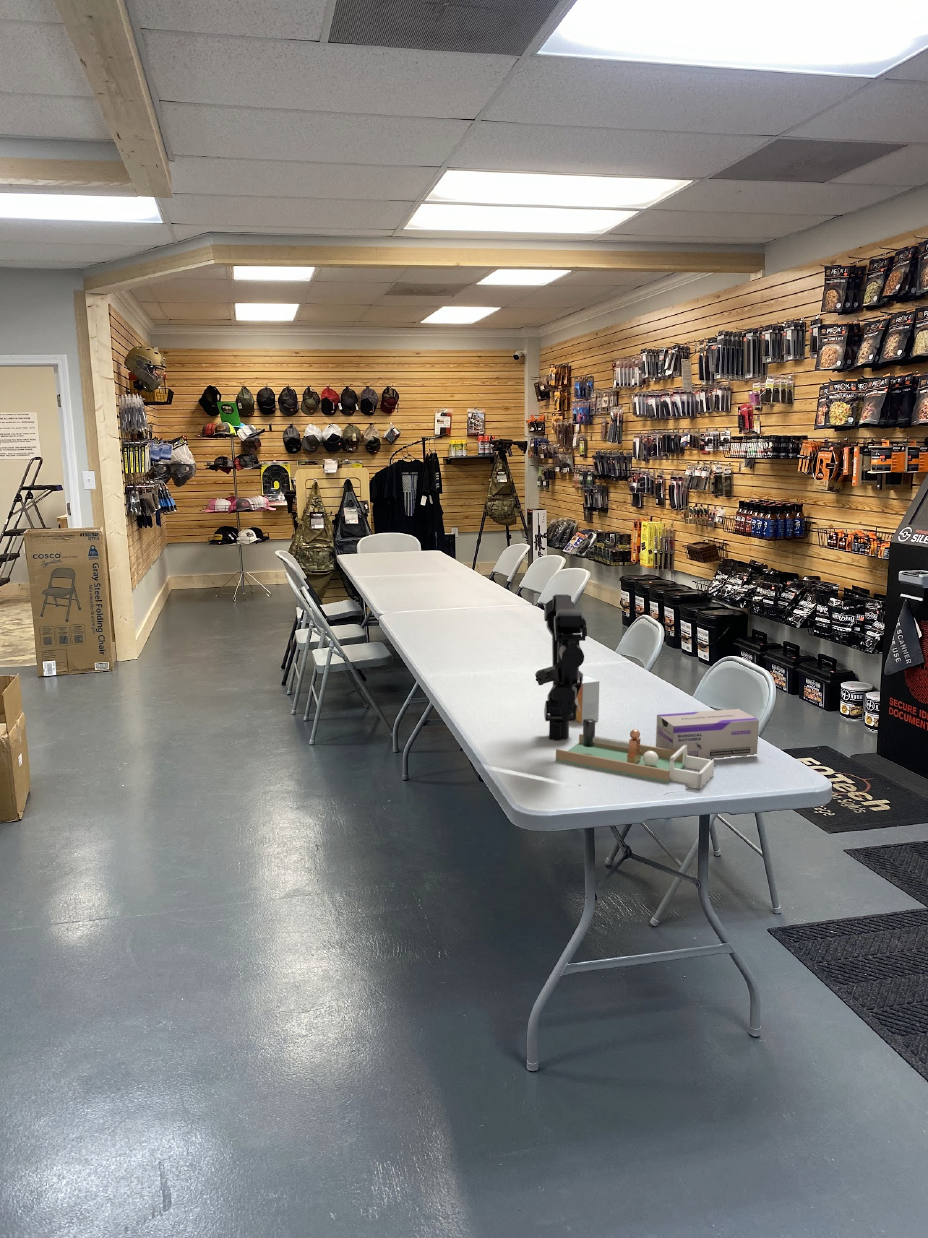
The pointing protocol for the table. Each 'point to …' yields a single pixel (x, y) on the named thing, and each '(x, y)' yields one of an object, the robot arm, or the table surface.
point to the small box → (588, 700)
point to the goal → (695, 763)
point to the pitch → (621, 760)
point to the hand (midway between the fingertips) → (566, 715)
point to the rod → (612, 741)
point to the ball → (650, 758)
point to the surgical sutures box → (709, 733)
